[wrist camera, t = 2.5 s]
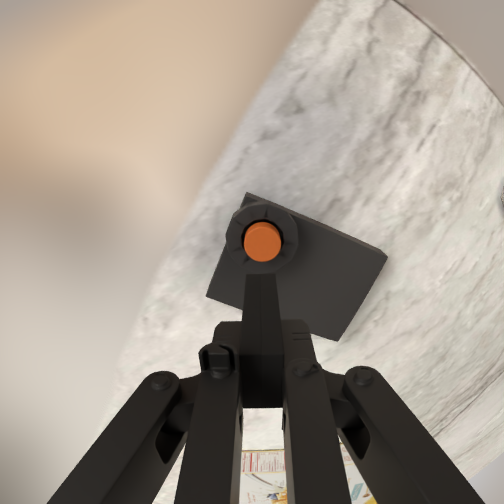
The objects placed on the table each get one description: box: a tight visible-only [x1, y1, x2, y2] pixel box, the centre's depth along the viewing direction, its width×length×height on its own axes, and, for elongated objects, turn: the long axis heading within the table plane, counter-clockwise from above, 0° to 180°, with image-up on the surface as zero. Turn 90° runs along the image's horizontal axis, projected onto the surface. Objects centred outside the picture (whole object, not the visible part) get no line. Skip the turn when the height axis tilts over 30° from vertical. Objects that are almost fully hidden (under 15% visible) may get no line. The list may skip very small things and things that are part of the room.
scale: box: [206, 192, 388, 342], centre depth 28 cm, size 14×10×4 cm
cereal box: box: [239, 443, 377, 504], centre depth 40 cm, size 20×6×28 cm
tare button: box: [244, 222, 281, 262], centre depth 24 cm, size 3×3×2 cm
